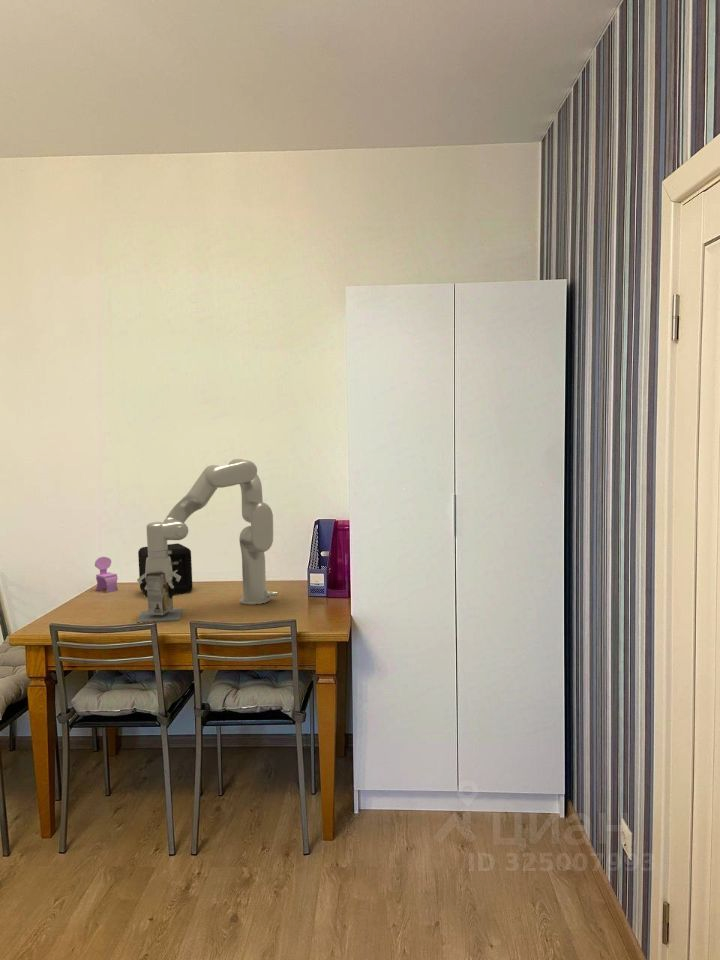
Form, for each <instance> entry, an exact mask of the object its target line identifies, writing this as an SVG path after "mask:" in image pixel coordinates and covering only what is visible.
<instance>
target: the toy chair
mask: <svg viewBox="0 0 720 960" xmlns="http://www.w3.org/2000/svg"><path fill="white" fill-rule="evenodd" d="M111 565H112V559H111V558H110V557H107V556H101V557H98V558H97V559H96V560H95V562H94V566H95V568H96V569H97V570H99V574H96V576H95V578H96V588H95V590H94V591H95V592H97V591H100V590H105V589H106V590H105V594H108V593H112V592H116V591H119V588H118V578H119V577H118V573H112V572H109V571H108V568H110V567H111ZM107 571H108V572H107Z"/></svg>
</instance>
